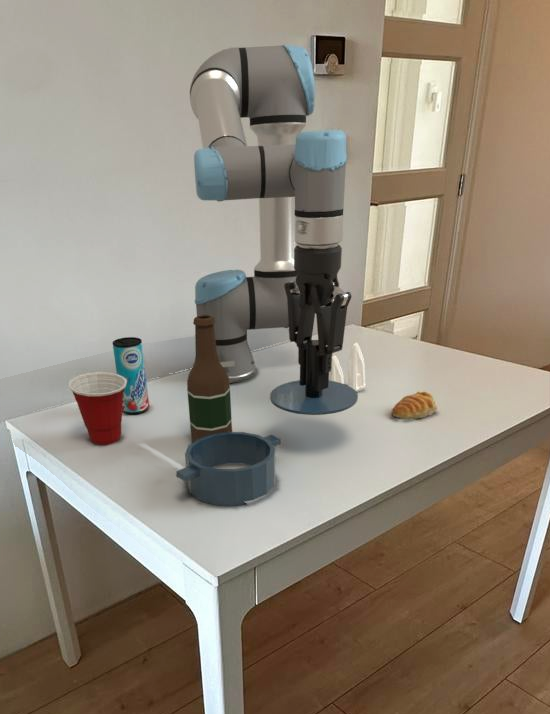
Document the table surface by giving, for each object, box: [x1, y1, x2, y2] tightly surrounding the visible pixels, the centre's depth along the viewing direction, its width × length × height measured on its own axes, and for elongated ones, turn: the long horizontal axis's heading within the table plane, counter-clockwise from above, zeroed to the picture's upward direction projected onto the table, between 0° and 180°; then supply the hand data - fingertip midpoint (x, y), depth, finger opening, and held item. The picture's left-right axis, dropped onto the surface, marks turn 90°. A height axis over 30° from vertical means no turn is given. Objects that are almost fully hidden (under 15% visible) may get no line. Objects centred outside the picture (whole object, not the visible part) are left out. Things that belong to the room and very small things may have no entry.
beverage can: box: [112, 336, 150, 415], centre depth 132 cm, size 6×6×15 cm
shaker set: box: [329, 342, 367, 393], centre depth 137 cm, size 12×4×11 cm, turn 129°
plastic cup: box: [67, 371, 127, 446], centre depth 121 cm, size 11×11×12 cm
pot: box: [175, 431, 281, 507], centre depth 105 cm, size 15×20×6 cm
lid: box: [269, 339, 359, 416], centre depth 110 cm, size 16×16×11 cm
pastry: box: [392, 391, 438, 420], centre depth 128 cm, size 9×7×4 cm
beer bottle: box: [186, 315, 233, 444], centre depth 114 cm, size 8×8×24 cm
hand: (313, 385), depth 112 cm, fingers closed on lid, 3 cm apart
